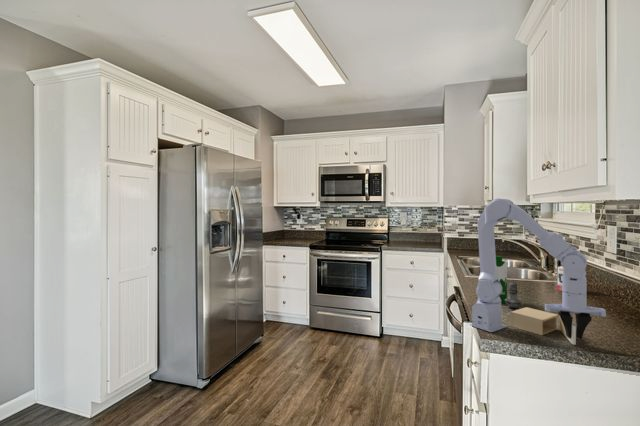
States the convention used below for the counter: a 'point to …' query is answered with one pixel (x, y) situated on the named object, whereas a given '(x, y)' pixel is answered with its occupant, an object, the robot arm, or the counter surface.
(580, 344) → the counter surface
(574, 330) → the flap
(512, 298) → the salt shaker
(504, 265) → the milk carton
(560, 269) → the ink box
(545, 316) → the carton
